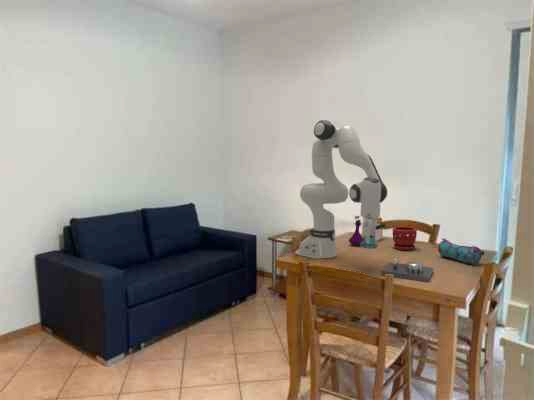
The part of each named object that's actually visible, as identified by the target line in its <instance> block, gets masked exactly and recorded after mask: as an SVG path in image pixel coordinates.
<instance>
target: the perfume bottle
mask: <svg viewBox="0 0 534 400" xmlns="http://www.w3.org/2000/svg"><path fill="white" fill-rule="evenodd" d="M354 219H355V223H354V226H355V231H354V232H353V234H352V236H350V238H349V239H348V243H350V245H351V246H352V247H361V246H360V243H362V242H363V238H364V236H363V235H362V234H361V233H360V227H361V225H362V223H361V222H362V220H361V219H360V215H354Z"/></svg>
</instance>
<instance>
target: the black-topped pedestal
mask: <svg viewBox="0 0 534 400" xmlns="http://www.w3.org/2000/svg"><path fill="white" fill-rule="evenodd" d="M385 227H386V223H381V222H377V226H376V228H375V230H374V231H373V236H374V237H375V242H377V241H380V240H382V229H383V228H385Z"/></svg>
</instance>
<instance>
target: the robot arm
mask: <svg viewBox="0 0 534 400" xmlns="http://www.w3.org/2000/svg"><path fill="white" fill-rule="evenodd" d="M313 135H314V136H315V138H317V139H316V140H314V142H313V144H312V149H311V162H312V163H311V166H312V167H311V168H312V174H313V175H314V176H315V177H316V178H319V179H321V180H322V181H323V183H307V184H304V185H303V186H302V187H301V189H300V191H299V196H300V199H301V201H302V203H304V204H305V205H306V206H307V207H309V209H310V211H311V213H312V219H313V222H312V223H313V227H312V228H311V229H310V230H309V232H308V233H309V234H310V235H308V236H307V237H306V238H304V239H303V240H302V241H301V242H300V243H299V244H300V245H299V249H297V250H295V253H294V254H295V255H296V254H297V256H301V257H307V258H310V259H311V258H312V259H317V260H319V259H330V258H335V257H337V255H338V254H337V251H336V243H335V239H336V229H335V216H334V213H333V212H331V211H330V210H328V209H326V208H324V205H325V204H326V205H327V204H328V205H331V204H333V205H336V204H341V203H345V202H346V201H347V200H348V198H350V200H351V201H352V202H354V203H355V204H356V203H357V204H361V205H360V216H361V218H362V219H363V220H362V229H361V236H362V237H364V236H365V238H366V243H370V235H371V236H373V231H374V230H375V228H376V226H377V223H378V219H379V218H380V216H381V203H383V202H384V201H385V200H386V198H387V196H388V188H387V186H386V185H385V183H384V181H383V180H382V179H381V176H380V174H379V171H378V170H377V168H376V165H375V162H374V161H373V159H372V157H371V156H370V154H368V153H367V152H365V150H364V149H363V147H362V145H361V142H360V138H359V136H358V134H357V131H356V129H355V127H353V126H351V125H344V126H343V125H342V124H340V123H338V122H337V123H336V122H333V121H330V120H326V119H322V120H319V121H317V122H316V124H315V125H314V128H313ZM333 149H338V152H339V156H340V157H341V160H342V161H344V162H345V163H347V164H350V165H352V166H353V165H354V166H357V167H359V168H361V169H362V171H364V173H365V174H366V176H367V177H364V178H363V179H362V180H361V181H359V182H356V183H354V184H352V185H351V186H350V187H349V189H348V187H347V186H346V184H344V183H342V181H340V180H339V178H338V177H337V176H336V174H335V170H334V163H333Z"/></svg>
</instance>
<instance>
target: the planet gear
mask: <svg viewBox="0 0 534 400" xmlns="http://www.w3.org/2000/svg"><path fill="white" fill-rule="evenodd" d="M359 247H361V248H363V249H367V250H370V249H371V250H373V249H375V250H376V249H378V242H377V243H376V241H375V237H374V236H371V235H370V243H366V238H365V236H363V242H362V243H360V246H359Z"/></svg>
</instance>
